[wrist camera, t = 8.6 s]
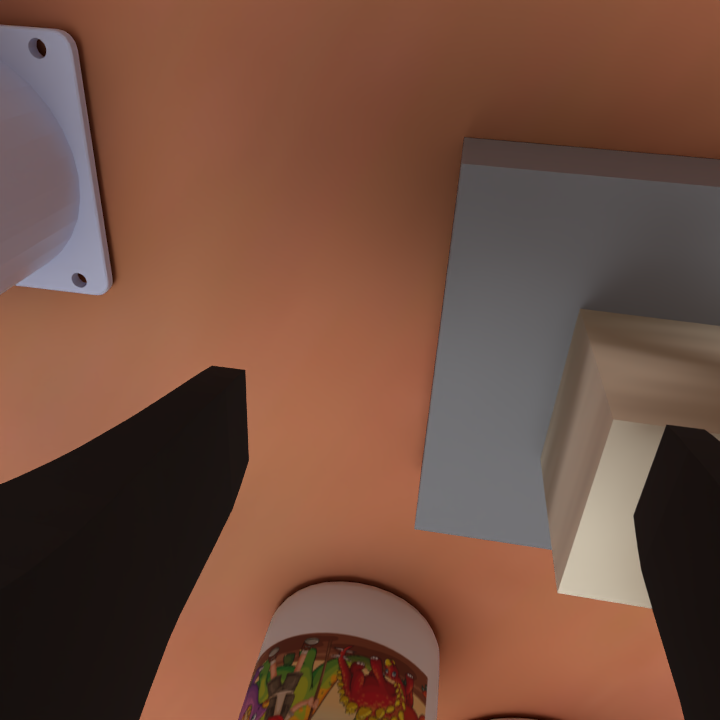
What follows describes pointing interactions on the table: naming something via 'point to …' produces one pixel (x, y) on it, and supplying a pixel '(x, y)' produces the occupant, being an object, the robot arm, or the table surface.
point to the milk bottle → (345, 658)
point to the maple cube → (619, 440)
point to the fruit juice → (513, 719)
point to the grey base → (548, 308)
